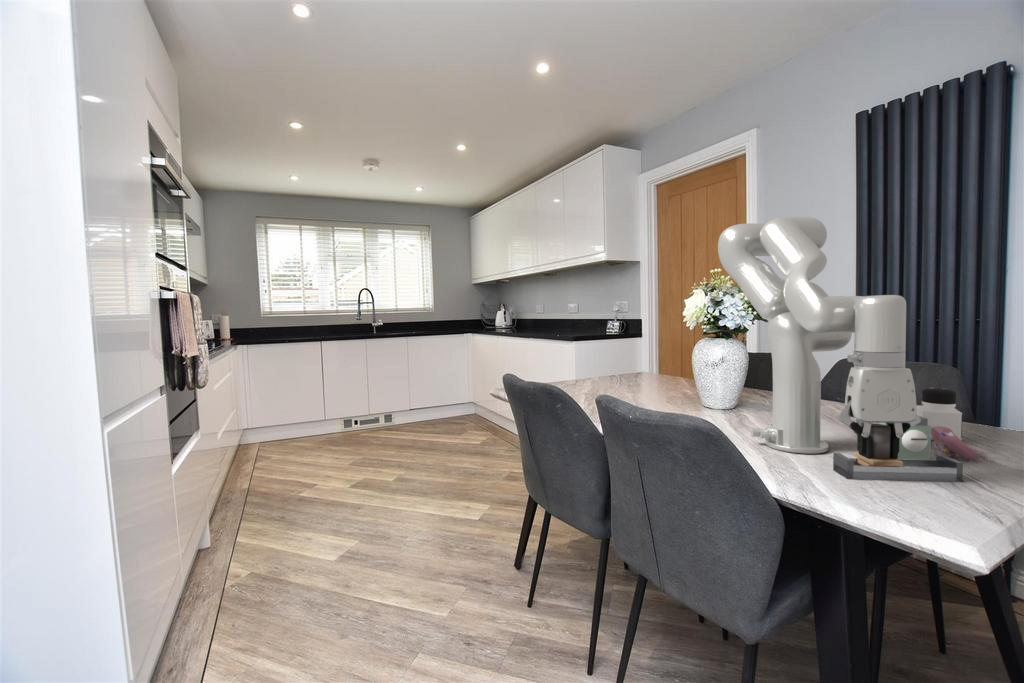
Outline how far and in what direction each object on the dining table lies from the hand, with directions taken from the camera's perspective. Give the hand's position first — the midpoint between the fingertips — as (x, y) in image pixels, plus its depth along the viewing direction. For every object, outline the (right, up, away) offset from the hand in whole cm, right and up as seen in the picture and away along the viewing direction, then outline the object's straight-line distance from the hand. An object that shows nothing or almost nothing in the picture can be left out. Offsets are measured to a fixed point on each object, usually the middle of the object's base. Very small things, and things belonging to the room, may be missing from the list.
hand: (877, 455), depth 88 cm
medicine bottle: (+34, -2, +24) cm, 42 cm away
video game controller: (+25, -3, +12) cm, 28 cm away
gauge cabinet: (+12, -3, +8) cm, 15 cm away
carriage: (0, -2, 0) cm, 2 cm away
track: (+3, -4, 0) cm, 5 cm away
